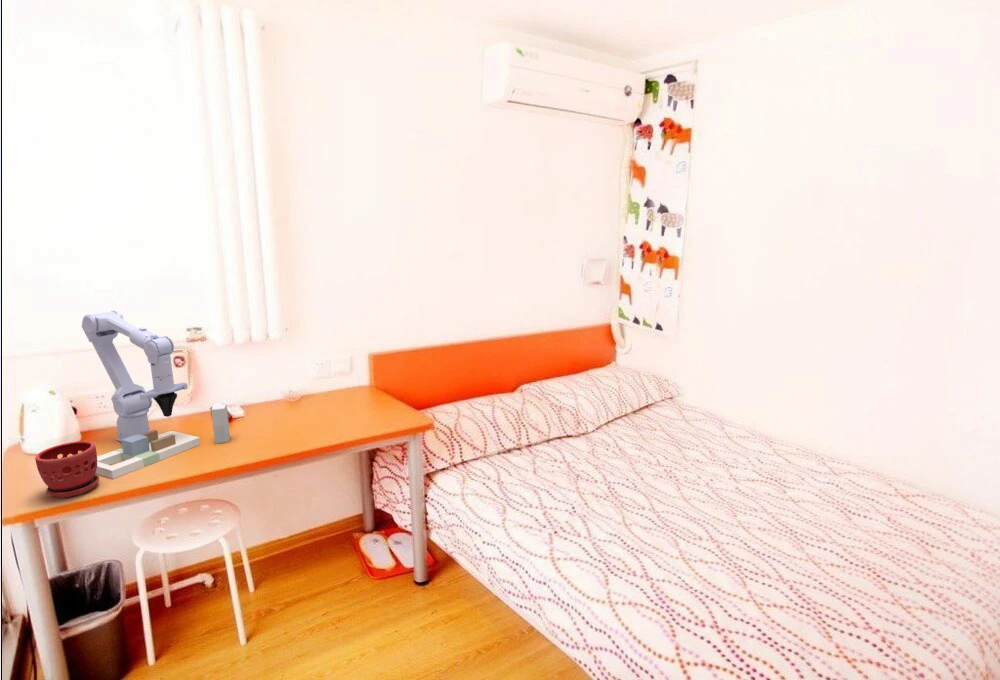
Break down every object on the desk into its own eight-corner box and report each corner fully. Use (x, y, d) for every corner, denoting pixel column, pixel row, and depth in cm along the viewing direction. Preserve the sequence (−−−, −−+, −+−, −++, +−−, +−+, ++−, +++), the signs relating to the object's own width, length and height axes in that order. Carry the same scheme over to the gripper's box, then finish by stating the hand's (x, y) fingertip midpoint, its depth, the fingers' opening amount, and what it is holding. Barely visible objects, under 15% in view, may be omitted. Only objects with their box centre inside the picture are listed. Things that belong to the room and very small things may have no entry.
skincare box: (216, 437, 193) (212, 403, 191) (230, 435, 195) (226, 402, 192) (214, 444, 188) (210, 409, 185) (228, 442, 189) (225, 408, 187)
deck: (83, 469, 168) (81, 452, 167) (172, 437, 193) (170, 422, 192) (113, 478, 163) (110, 460, 161) (200, 444, 187) (198, 428, 186)
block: (123, 453, 174) (121, 439, 173) (139, 447, 178) (137, 434, 177) (133, 456, 172) (131, 442, 171) (149, 450, 176) (147, 436, 175)
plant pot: (90, 475, 165) (83, 436, 162) (109, 487, 157) (103, 447, 155) (34, 492, 154) (27, 451, 152) (53, 506, 147) (45, 463, 144)
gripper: (147, 382, 173) (153, 424, 176) (191, 371, 186) (196, 410, 189) (133, 379, 176) (139, 421, 179) (177, 368, 189) (182, 407, 192)
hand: (167, 415), depth 184 cm, fingers closed
